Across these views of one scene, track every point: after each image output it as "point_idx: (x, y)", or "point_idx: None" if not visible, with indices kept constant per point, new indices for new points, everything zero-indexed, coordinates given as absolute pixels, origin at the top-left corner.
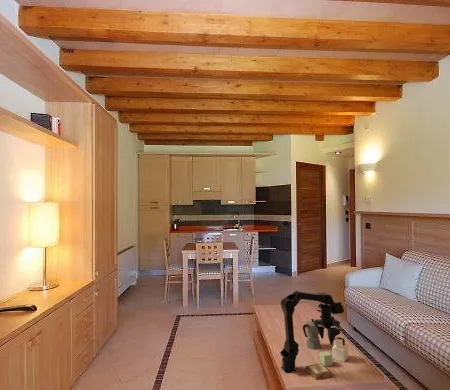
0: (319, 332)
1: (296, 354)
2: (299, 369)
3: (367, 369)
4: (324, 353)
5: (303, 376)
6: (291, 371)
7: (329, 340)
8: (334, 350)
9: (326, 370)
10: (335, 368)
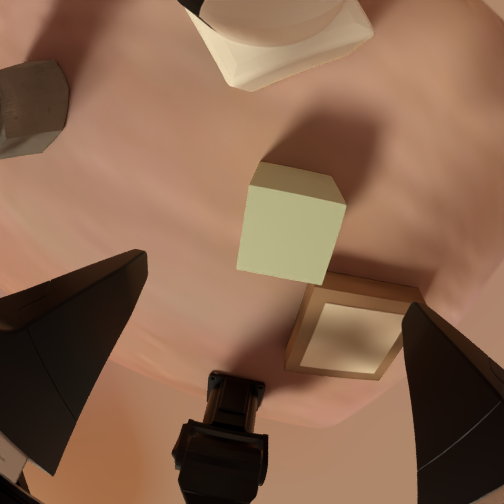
0: (93, 382)
1: (266, 460)
2: (257, 364)
3: (489, 35)
4: (280, 246)
5: (319, 383)
6: (261, 398)
7: (419, 400)
8: (265, 77)
9: (400, 323)
10: (379, 195)
